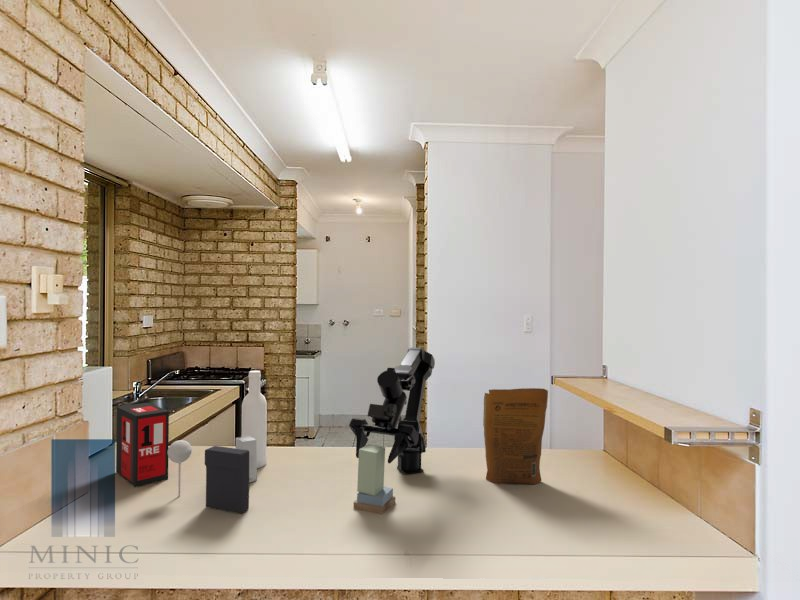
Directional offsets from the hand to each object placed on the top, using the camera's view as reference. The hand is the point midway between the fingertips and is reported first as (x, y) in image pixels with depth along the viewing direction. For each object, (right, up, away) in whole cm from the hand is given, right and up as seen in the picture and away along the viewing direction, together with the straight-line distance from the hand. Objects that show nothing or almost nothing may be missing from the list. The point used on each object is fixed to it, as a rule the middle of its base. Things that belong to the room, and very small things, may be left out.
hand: (372, 459), depth 126 cm
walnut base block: (0, -13, +1) cm, 13 cm away
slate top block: (+1, -11, +1) cm, 11 cm away
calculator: (-37, -12, -2) cm, 39 cm away
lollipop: (-52, -12, +5) cm, 54 cm away
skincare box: (-38, -12, +19) cm, 44 cm away
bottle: (-40, -12, +31) cm, 52 cm away
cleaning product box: (-70, -12, +20) cm, 74 cm away
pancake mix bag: (+41, -13, +19) cm, 47 cm away
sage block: (-1, -8, +1) cm, 8 cm away
